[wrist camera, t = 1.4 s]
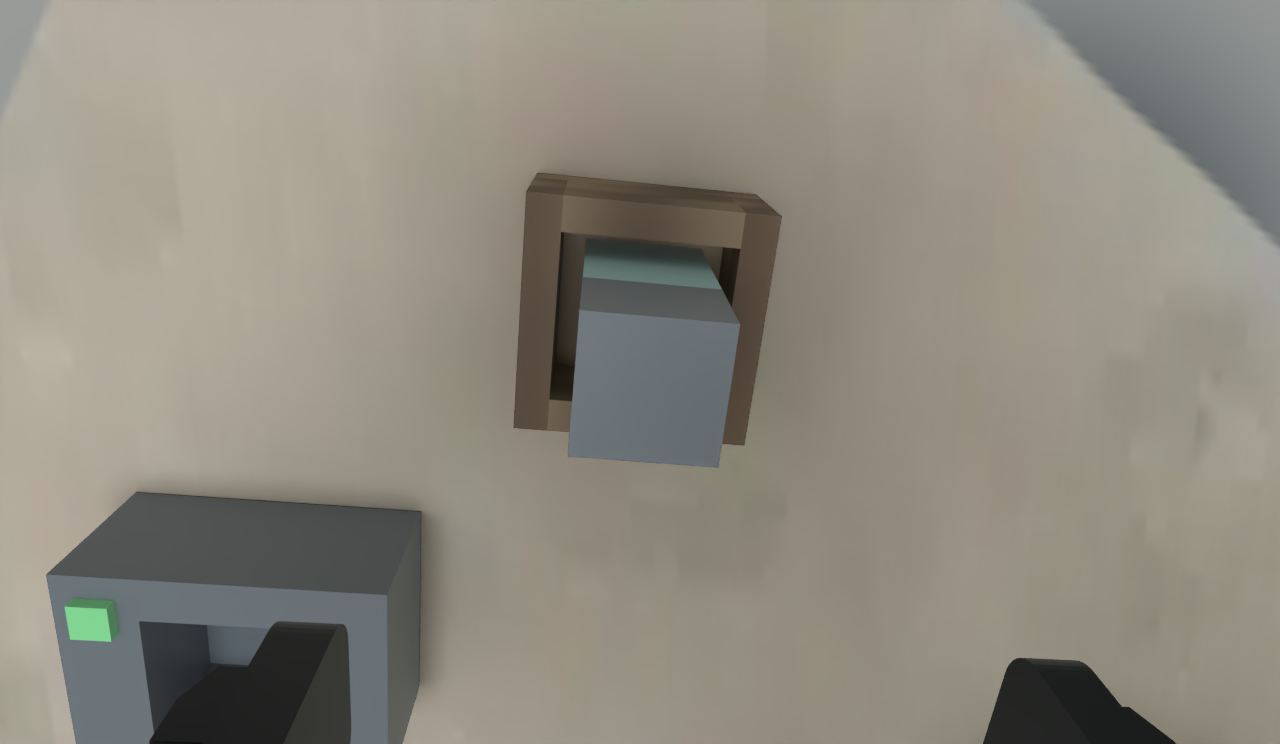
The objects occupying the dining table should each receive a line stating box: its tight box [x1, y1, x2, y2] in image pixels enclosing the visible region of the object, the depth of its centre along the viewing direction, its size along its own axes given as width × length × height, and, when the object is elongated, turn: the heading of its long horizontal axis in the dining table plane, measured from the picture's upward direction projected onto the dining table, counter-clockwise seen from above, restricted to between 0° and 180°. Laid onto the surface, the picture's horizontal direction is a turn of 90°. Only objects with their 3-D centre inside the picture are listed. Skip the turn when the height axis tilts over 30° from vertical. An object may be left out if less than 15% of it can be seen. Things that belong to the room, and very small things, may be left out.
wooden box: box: [514, 173, 782, 445], centre depth 25 cm, size 7×7×4 cm
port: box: [46, 492, 421, 744], centre depth 28 cm, size 10×8×5 cm
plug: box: [568, 238, 740, 468], centre depth 22 cm, size 4×4×8 cm
